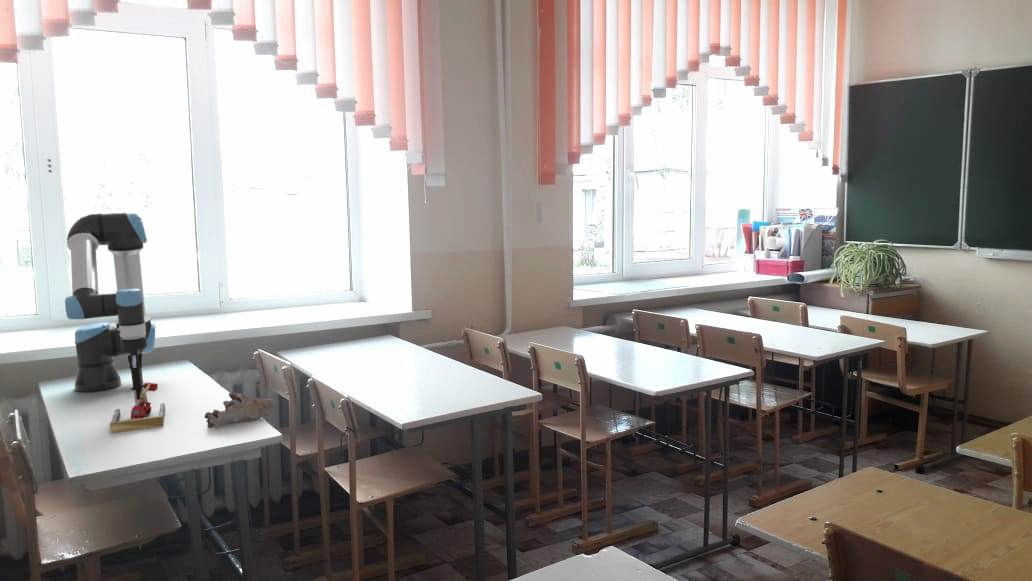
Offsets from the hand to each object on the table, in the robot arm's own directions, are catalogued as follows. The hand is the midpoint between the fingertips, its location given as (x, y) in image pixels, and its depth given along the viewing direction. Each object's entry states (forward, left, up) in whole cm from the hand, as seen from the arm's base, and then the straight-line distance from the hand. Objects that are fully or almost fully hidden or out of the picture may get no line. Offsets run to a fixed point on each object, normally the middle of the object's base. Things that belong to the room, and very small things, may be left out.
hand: (140, 408), depth 251 cm
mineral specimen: (+24, +30, -2) cm, 38 cm away
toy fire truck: (+4, +1, -2) cm, 5 cm away
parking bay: (+8, 0, -2) cm, 8 cm away
